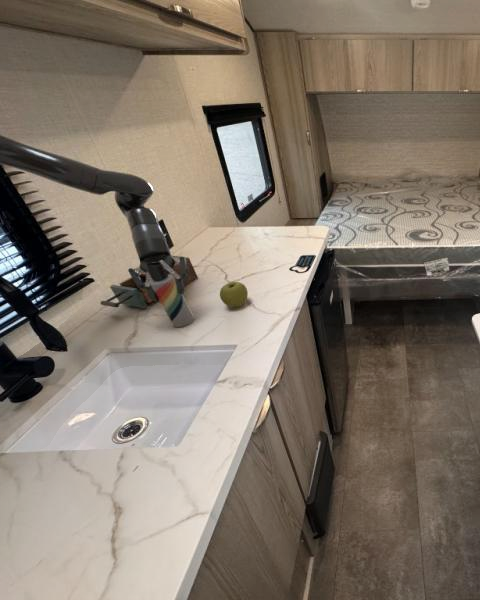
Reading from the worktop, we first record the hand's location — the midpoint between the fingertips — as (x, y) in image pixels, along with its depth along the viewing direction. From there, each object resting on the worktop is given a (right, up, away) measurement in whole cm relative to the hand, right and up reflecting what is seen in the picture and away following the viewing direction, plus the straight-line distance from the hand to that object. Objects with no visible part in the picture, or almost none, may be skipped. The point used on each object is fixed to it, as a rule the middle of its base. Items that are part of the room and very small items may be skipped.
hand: (169, 296), depth 91 cm
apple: (+13, -3, +14) cm, 19 cm away
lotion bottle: (0, -8, +7) cm, 11 cm away
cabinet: (-18, +4, +26) cm, 31 cm away
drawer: (-21, -1, +17) cm, 27 cm away
